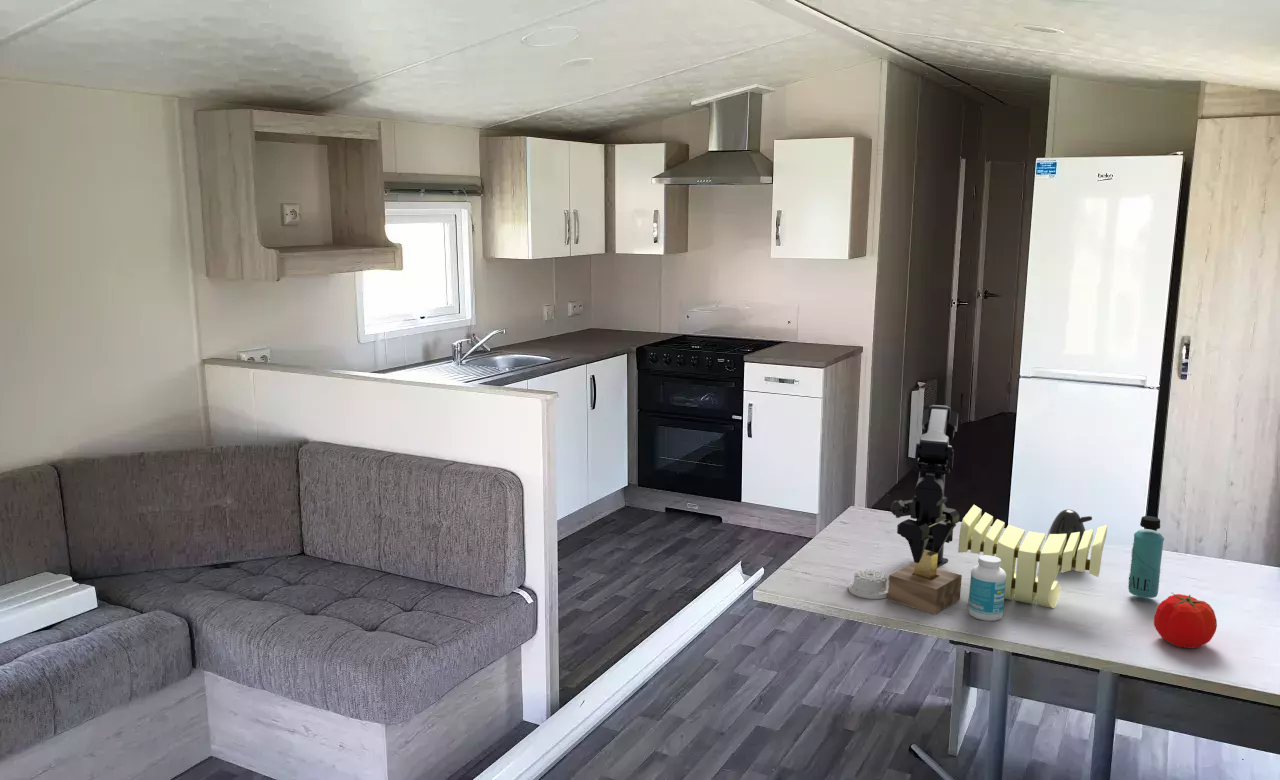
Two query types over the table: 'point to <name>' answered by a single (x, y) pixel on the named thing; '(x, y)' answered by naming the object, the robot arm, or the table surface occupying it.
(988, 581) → the pill bottle
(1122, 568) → the table surface
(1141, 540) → the beverage bottle
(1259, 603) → the table surface
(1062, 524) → the pump dispenser
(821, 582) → the table surface
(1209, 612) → the tomato
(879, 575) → the mechanical component
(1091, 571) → the slatted curved stool
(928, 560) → the brushed gold block
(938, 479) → the robot arm
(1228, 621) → the table surface
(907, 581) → the slotted wooden block
